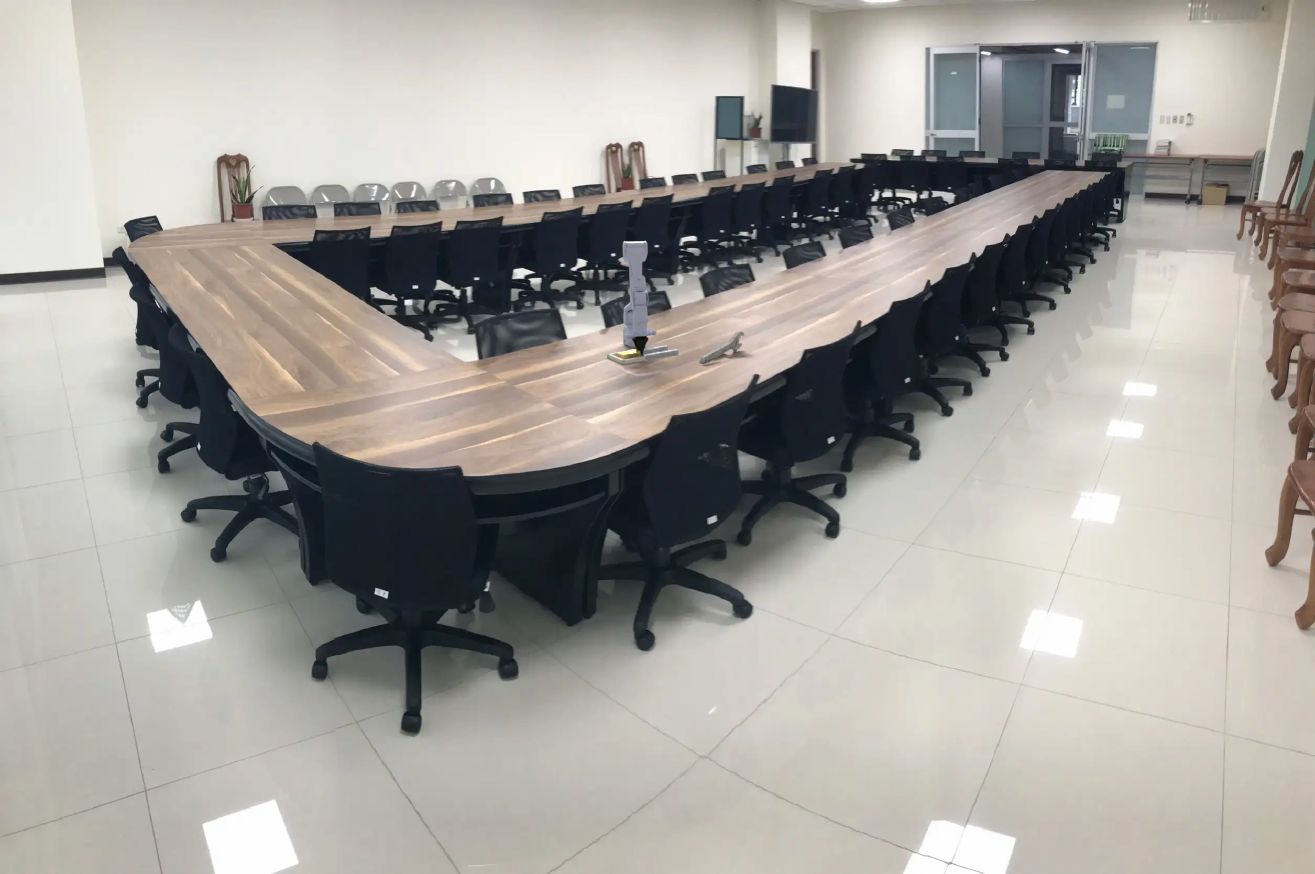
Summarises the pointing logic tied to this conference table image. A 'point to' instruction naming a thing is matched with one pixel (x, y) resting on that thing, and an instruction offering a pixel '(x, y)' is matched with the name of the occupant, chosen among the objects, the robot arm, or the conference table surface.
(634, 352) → the chip
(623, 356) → the chip
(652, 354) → the slot board
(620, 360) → the grey rectangular frame
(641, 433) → the conference table surface
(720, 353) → the wrench
